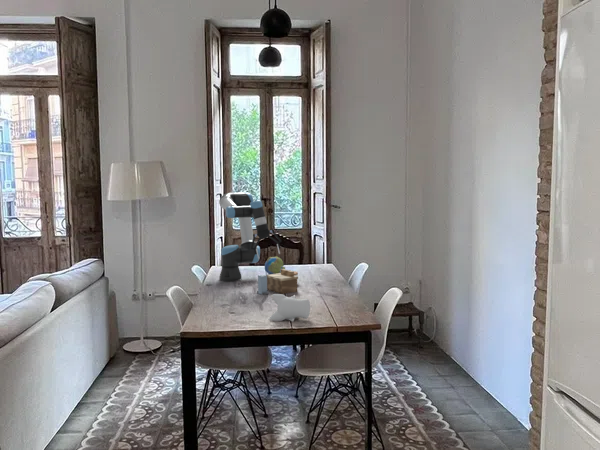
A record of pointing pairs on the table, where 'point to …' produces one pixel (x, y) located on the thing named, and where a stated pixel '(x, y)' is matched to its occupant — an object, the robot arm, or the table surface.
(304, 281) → the table surface
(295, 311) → the fox head
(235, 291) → the table surface
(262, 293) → the pair of grey bars
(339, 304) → the table surface
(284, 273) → the lid
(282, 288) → the toolbox
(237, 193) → the robot arm
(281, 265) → the globe
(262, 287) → the blue-grey block
